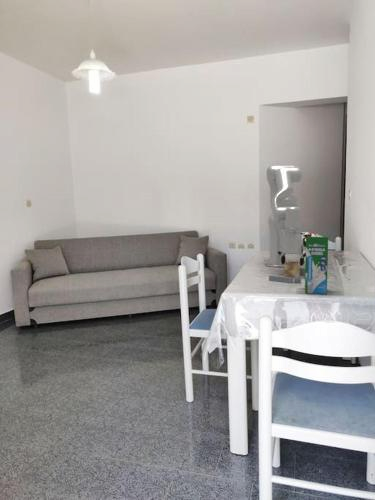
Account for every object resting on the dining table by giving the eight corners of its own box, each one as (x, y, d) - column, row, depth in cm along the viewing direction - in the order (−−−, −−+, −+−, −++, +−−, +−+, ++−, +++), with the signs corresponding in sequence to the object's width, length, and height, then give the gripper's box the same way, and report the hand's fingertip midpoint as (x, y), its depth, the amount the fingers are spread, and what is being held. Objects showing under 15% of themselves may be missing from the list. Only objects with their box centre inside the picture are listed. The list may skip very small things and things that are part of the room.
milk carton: (326, 289, 174) (328, 234, 171) (326, 294, 166) (328, 236, 162) (305, 288, 177) (306, 234, 174) (304, 293, 169) (306, 236, 165)
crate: (283, 276, 198) (284, 263, 197) (288, 274, 203) (288, 261, 202) (295, 278, 194) (295, 264, 193) (300, 276, 199) (300, 262, 198)
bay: (268, 282, 190) (268, 272, 189) (284, 275, 206) (284, 266, 205) (298, 286, 181) (298, 275, 181) (312, 278, 197) (312, 268, 196)
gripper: (273, 231, 197) (273, 264, 199) (306, 232, 187) (306, 267, 189) (279, 230, 203) (279, 262, 205) (312, 231, 193) (311, 265, 195)
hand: (292, 264), depth 197 cm, fingers open, 9 cm apart
